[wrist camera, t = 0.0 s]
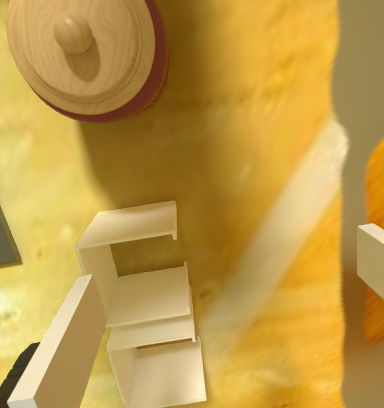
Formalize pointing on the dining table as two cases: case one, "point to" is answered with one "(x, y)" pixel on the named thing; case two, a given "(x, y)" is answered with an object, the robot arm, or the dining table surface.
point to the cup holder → (7, 243)
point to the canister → (90, 55)
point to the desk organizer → (145, 311)
